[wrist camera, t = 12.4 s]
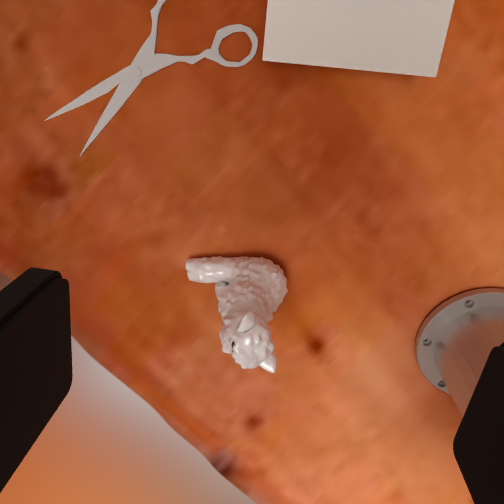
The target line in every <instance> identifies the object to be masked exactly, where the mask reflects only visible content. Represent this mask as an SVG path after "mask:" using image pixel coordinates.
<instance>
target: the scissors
mask: <svg viewBox="0 0 504 504" xmlns="http://www.w3.org/2000/svg"><path fill="white" fill-rule="evenodd" d="M166 1H167V0H158V3H157V4H156V5H155V6H154V7H153V9H152V10H151V11H150V12H151V17H152V31H151V34H150V36H149V37H148V39H147V40H146V41H145V43H144V44H143V46H142V47H141V49H140V50H139V52H138V53H137V55H136V57H135V58H134V60H133V62H132V64H131V65H130V66H128V67H126V68H124V69H123V70H121V71H119V72H118V73H116V74H114V75H112V76H111V77H109V78H107V79H106V80H104V81H102V82H101V83H99V84H97V85H96V86H94V87H93V88H91V89H90V90H88V91H87V92H85V93H84V94H82V95H81V96H79V97H78V98H76V99H75V100H73V101H72V102H70V103H69V104H67V105H66V106H64V107H63V108H61V109H60V110H58V111H57V112H55V113H54V114H53V115H51V116H50V117H49V118H47V119H46V120H48V119H50V118H53V117H55V116H57V115H60V114H62V113H65V112H67V111H69V110H72V109H74V108H77V107H79V106H81V105H83V104H86V103H88V102H90V101H92V100H94V99H95V98H97V97H99V96H101V95H104V94H106V93H108V92H109V91H110V90H111V89H113V88H114V87H115V86H116V85H118V84H119V83H120V82H121V83H120V84H119V86H118V88H117V90H116V91H115V93H114V95H113V97H112V98H111V100H110V102H109V104H108V105H107V107H106V109H105V111H104V112H103V114H102V116H101V118H100V120H99V121H98V123H97V125H96V127H95V129H94V131H93V132H92V134H91V136H90V138H89V140H88V142H87V143H86V145H85V147H84V149H83V151H82V153H83V152H84V151H85V149H86V148H87V147H88V146H89V145H90V144H91V142H92V141H93V140H94V139H95V138H96V136H97V135H98V134H99V133H100V132H101V131H102V129H103V128H104V127H105V126H106V125H107V123H108V122H109V121H110V120H111V119H112V118H113V116H114V115H115V114H116V113H117V112H118V110H119V109H120V108H121V107H122V105H123V104H124V103H125V101H126V100H127V99H128V98H129V96H130V95H131V94H132V93H133V91H134V90H135V89H136V87H137V86H138V85H139V84H140V82H141V81H142V79H143V78H145V77H147V76H149V75H151V74H153V73H155V72H156V71H158V70H160V69H162V68H164V67H166V66H169V65H171V64H174V63H176V62H178V61H184V62H187V63H189V64H192V65H193V64H195V63H196V62H198V61H199V60H201V59H203V58H204V57H205V58H208V59H211V60H213V61H216V62H217V63H219V64H221V65H223V66H227V67H239V66H242V65H245V64H246V63H248V62H249V61H250V60H251V59H252V58H253V57H254V55H255V54H256V50H257V47H258V39H257V36H256V34H255V33H254V32H253V31H252V29H251V28H249V27H246V26H244V25H241V24H236V25H229V26H226V27H224V28H222V29H219V30H217V32H216V35H215V38H214V41H213V44H212V47H211V49H206V50H205V51H203V52H202V53H200V54H199V55H196V56H175V55H170V54H155V51H156V40H157V28H158V18H159V14H160V11H161V8H162V5H163V4H164V3H165V2H166ZM233 32H245V33H247V35H248V36H249V37H250V39H251V41H252V50H251V52H250V54H249V55H248V56H247V57H246V58H245V59H243V60H242V61H241V62H229V61H226V60H224V58H223V57H222V56H221V55H220V54H219V46H220V43H221V41H222V39H223V38H225V37H227V36H228V35H230V34H232V33H233ZM46 120H45V121H46ZM82 153H81V154H82ZM81 154H80V155H81ZM79 157H80V156H79Z"/></svg>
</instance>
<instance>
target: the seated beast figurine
mask: <svg viewBox="0 0 504 504" xmlns="http://www.w3.org/2000/svg"><path fill="white" fill-rule="evenodd" d="M186 270H188V273H187V275H188V278H189V280H191V281H194V282H199V283H211V282H213V283H215V292H216V296H217V299H218V300H219V303H218V311H219V312H220V313H221V317H222V321H223V325H222V327H221V330H220V333H219V337H220V339H221V342H222V345H223V348H222V351H223V352H224V353H228V354H229V353H231V354H232V357H233V358H234V359H235V362H236V363H237V364H240V365H241V368H242V369H246V368H249V369H253V368H256V367H257V366H258V365H259V366H260V367H262V368H263V369H264V370H267V371H269V372H272V373H274V372H275V370H276V363H277V357H276V355H275V354H274V353H273V350H274V346H275V345H274V343H273V341H272V336H271V332H270V328H269V326H268V322H269V321H271V320H272V319H273V312H276V311H277V308H278V306H279V305H280V304H281V303H282V302H283V298H284V296H285V295H286V294H287V292H288V289H287V279H286V277H285V276H284V274H283V270H282V269H281V268H280V266H279V265H275V264H273V262H272V261H271V260H269V259H265V258H263V257H260V258H258V257H256V258H255V257H247V256H245V257H243V256H241V257H233V258H230V257H229V258H226V257H221V256H218V257H214V256H213V257H211V258H207V257H203V258H192V259H187V260H186Z"/></svg>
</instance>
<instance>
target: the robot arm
mask: <svg viewBox="0 0 504 504" xmlns="http://www.w3.org/2000/svg"><path fill="white" fill-rule="evenodd" d="M415 355H416V360H417V362H418V365H419V368H420V369H421V371H422V373H423V375H424V377H425V378H426V379H427V380H428V381H429V382H430V383H431V384H432V385H433V386H435V387H436V388H437V389H439V390H441V391H443V392H445V393H447V394H450V395H451V397H452V399H453V401H454V403H455V405H456V407H457V409H458V411H459V413H460V415H461V417H462V421H461V423H460V426H459V428H458V431H457V433H456V435H455V438H454V443H453V450H454V455H455V458H456V460H457V463H458V465H459V468H460V470H461V472H462V475H463V477H464V480H465V482H466V484H467V487H468V489H469V492H470V494H471V496H472V499H473V501H474V504H504V289H499V288H482V289H476V290H471V291H467V292H464V293H461V294H459V295H456V296H454V297H452V298H450V299H448V300H447V301H445V302H443V303H442V304H441V305H439V306H438V307H437V308H436V309H434V310H433V311H432V312H431V313H430V314H429V316H428V317H427V318H426V319H425V320H424V322H423V324H422V325H421V327H420V329H419V331H418V334H417V337H416V342H415ZM71 383H72V351H71V324H70V297H69V283H68V280H66V279H62V276H61V273H60V272H58V271H53V270H47V269H40V268H33V267H32V268H30V269H28V270H27V271H25V272H24V273H23V274H21V275H20V276H19V277H18V278H16V279H15V280H14V281H13V282H11V283H10V284H9V285H7V286H6V287H5V288H4V289H2V290H1V291H0V493H1V491H2V490H3V488H4V487H5V485H6V484H7V482H8V480H9V479H10V478H11V476H12V475H13V473H14V472H15V470H16V469H17V467H18V466H19V464H20V463H21V462H22V460H23V459H24V457H25V456H26V454H27V453H28V451H29V450H30V448H31V447H32V445H33V444H34V442H35V441H36V439H37V438H38V436H39V435H40V433H41V432H42V430H43V429H44V427H45V426H46V425H47V423H48V422H49V420H50V418H51V417H52V416H53V414H54V413H55V411H56V410H57V408H58V407H59V405H60V404H61V402H62V401H63V399H64V398H65V396H66V395H67V393H68V392H69V389H70V387H71Z"/></svg>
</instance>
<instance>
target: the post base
mask: <svg viewBox="0 0 504 504" xmlns="http://www.w3.org/2000/svg"><path fill="white" fill-rule="evenodd" d="M454 1H455V0H268V4H267V15H266V26H265V37H264V48H263V60H262V61H273V62H283V63H293V64H304V65H314V66H324V67H334V68H345V69H355V70H365V71H375V72H386V73H396V74H406V75H416V76H427V77H436V76H437V71H438V67H439V63H440V59H441V55H442V51H443V47H444V42H445V38H446V34H447V30H448V26H449V22H450V18H451V13H452V9H453V5H454Z"/></svg>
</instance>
